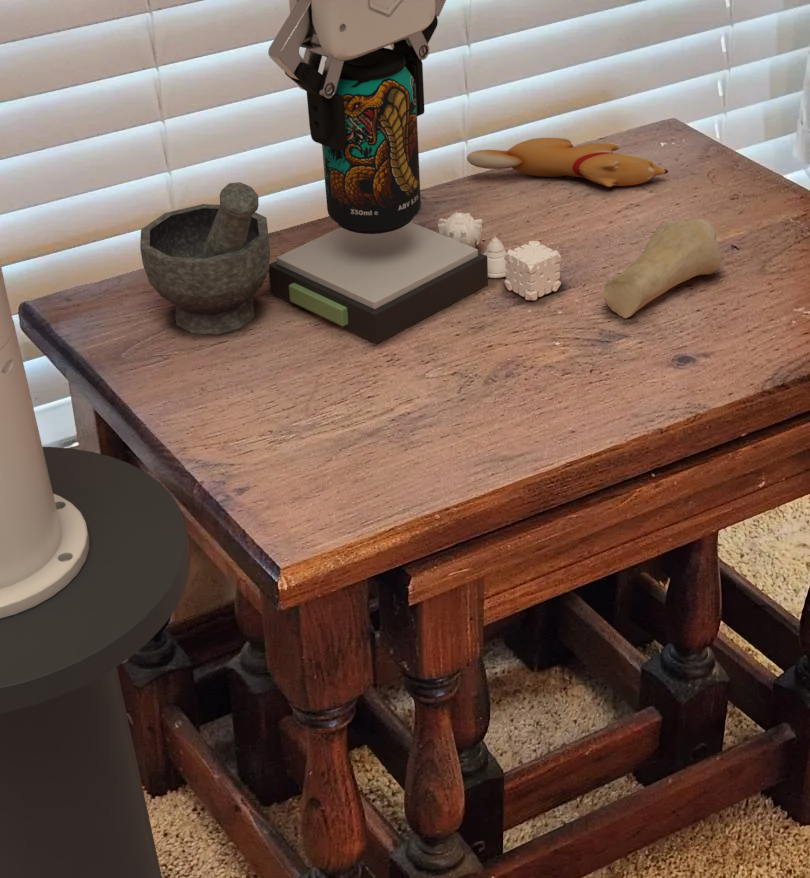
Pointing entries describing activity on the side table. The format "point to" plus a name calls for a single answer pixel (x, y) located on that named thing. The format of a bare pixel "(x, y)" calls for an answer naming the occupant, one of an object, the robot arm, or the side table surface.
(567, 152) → the toy
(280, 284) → the scale
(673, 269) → the tan bone
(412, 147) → the beverage can
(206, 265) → the mortar and pestle
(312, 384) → the side table surface
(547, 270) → the game pieces
